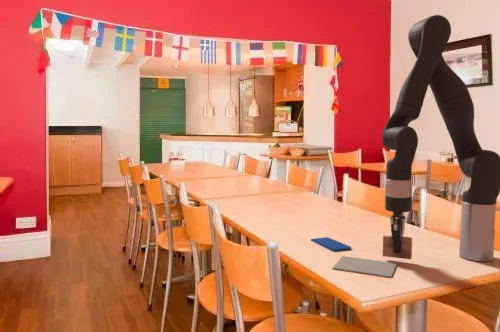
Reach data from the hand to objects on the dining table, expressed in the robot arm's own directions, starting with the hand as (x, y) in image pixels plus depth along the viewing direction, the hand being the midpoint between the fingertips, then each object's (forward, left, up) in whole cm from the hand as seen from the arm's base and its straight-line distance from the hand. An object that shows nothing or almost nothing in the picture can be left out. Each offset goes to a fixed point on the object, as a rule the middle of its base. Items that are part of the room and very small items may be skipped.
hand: (397, 251), depth 133 cm
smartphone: (+23, -9, -4) cm, 25 cm away
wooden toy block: (0, 0, -2) cm, 2 cm away
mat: (+8, +9, -3) cm, 12 cm away
